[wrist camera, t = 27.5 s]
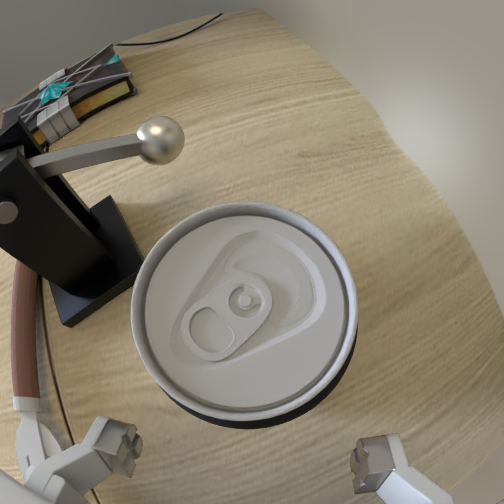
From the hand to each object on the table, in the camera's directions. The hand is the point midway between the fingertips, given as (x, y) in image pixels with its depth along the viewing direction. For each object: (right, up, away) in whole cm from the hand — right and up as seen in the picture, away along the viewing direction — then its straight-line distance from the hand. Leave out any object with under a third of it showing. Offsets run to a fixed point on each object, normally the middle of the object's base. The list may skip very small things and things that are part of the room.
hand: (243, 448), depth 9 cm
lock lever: (-10, +11, +7) cm, 16 cm away
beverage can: (+1, +1, +9) cm, 9 cm away
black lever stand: (-12, +6, +12) cm, 19 cm away
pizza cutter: (-17, -4, +8) cm, 19 cm away
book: (-27, +27, +24) cm, 45 cm away
